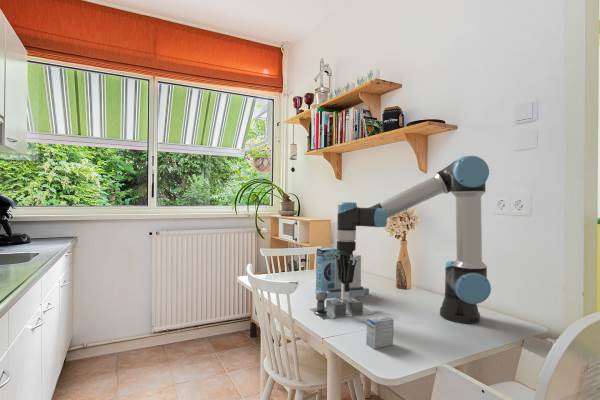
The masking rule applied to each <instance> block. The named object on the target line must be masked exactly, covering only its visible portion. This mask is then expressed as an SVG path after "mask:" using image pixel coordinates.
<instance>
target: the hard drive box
mask: <svg viewBox="0 0 600 400" xmlns="http://www.w3.org/2000/svg"><path fill="white" fill-rule="evenodd" d="M353 259H354V260H356V261H357V263H356V265H355V270H354V277H353V282H352V283H349V287H359V286H362V278H361V277H362V255H361V254H353ZM335 288H341V281H340V280H339V279H338V268H337V260H336V258H335ZM356 297H357V296H353V297H349V298H356ZM335 299H337V300H340V301H343V300H342V299H341V298H335Z"/></svg>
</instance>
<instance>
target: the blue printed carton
mask: <svg viewBox="0 0 600 400" xmlns="http://www.w3.org/2000/svg"><path fill="white" fill-rule="evenodd" d="M339 252H340V251H339V250H337V246H332V247H322V248H316V264H315V265H316V266H315V268H316V269H315V292H316V291H328V289H334V288H335V258H336V256H337V255H339Z"/></svg>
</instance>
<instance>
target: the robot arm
mask: <svg viewBox="0 0 600 400" xmlns="http://www.w3.org/2000/svg"><path fill="white" fill-rule="evenodd" d="M489 175H490V167H489V165H488V163H487V162H486V161H485V160H484V159H483V158H481V157H479V156H476V155H465V156H462V157H460V158H458V159H456V160H455V161H453V162H451V163H450V164H449V165H447V166H446V167H444V168H443V169H441V170H438V172H435V173H434V176H433V177H431V178H428V179H426V180H424V181H422V182H420V183H418V184H416V185H413V186H412V187H410V188H409V187H408V188H407V189H405V190H403V191H402V192H399V193H397V194H395V195H392V196H391V197H388V198H387V199H383V200H382V201H380V202H378V203H376V204H374V205H372V206H370V207H359V206H358V205H357V202H348V201H347V202H345V201H344V202H343V201H341V202H339V203H338V206H337V229H336V231H337V232H336V239H337V241H336V247H337V250H339V251H340V252H339V255H337V256H336V260H337V268H338V279H339V280H340V281H341V299H342V300H341V299H340V300H341V301H343V300H346V299H349V283H352V282H353V277H354V270H355V265H356V263H357V261H356V260H354V259H353V253H354V251H356V248H357V247H356V246H357V245H356V243H357V242H356V240H357V236H356V234H357V227H367V228H368V227H369V228H370V227H371V228H385V227H387V225H388V219H389V218H391V217H394V216H395V215H398V214H400V213H402V212H404V211H406V210H409V209H410V208H411V209H412V208H413V207H416V206H417V205H419V204H421V203H424V202H426V201H428V200H430V199H432V198H434V197H436V196H439V195H441V194H449V193H451V194H452V195H453V196H454V197H455V223H456V224H455V226H456V227H455V229H456V231H455V232H456V234H455V236H456V241H455V243H456V260H454V261H453V260H448V261H446V263H445V268H444V269H445V270H444V271H445V275H444V276H445V278H444V279H445V280H444V297H443V301H442V303H441V307H440V308H439V316H440V317H442V318H443V319H444V320H448V321H452V322H456V323H461V324H475V323H478V322H481V314H480V311H479V308H478V307H479V306H478V304H481V303H484V302H485V301H486V300H487V299H488V298H489V296H490V295H491V291H492V286H491V283H490V280H489V279H488V276H487V275H488V274H487V273H488V271H487V270H488V269H487V267H488V266H487V265H486V264H485V263H484V262H483V244H482V243H483V241H482V239H483V237H482V235H483V234H482V231H483V230H482V228H483V227H482V196H483V195H484V194H486V182H487V180H488V178H489Z"/></svg>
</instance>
